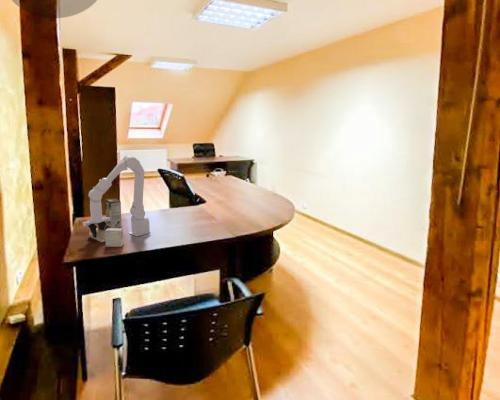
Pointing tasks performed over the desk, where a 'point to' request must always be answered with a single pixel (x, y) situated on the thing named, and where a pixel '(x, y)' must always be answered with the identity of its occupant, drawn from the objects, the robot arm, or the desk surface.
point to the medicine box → (114, 237)
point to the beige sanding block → (98, 235)
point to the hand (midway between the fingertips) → (97, 236)
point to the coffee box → (113, 212)
